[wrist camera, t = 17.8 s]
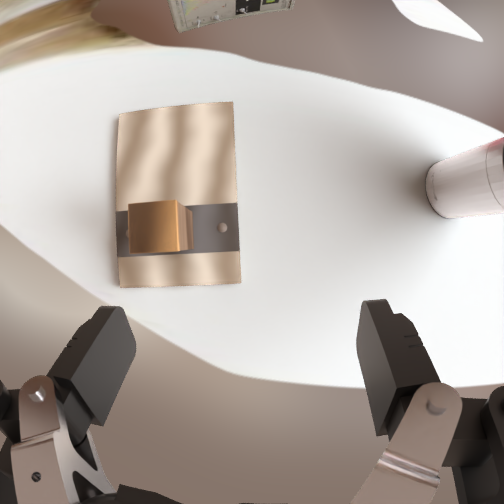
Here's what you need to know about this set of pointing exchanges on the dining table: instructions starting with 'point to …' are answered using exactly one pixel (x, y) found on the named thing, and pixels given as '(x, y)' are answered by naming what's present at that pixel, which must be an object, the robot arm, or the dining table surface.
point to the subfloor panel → (180, 192)
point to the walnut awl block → (159, 227)
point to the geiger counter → (220, 11)
